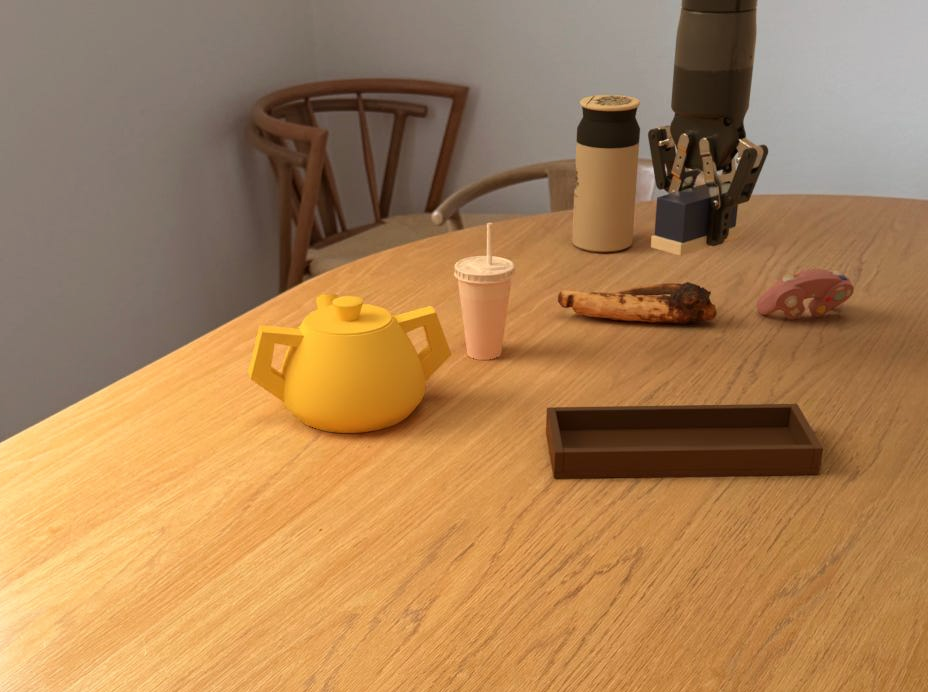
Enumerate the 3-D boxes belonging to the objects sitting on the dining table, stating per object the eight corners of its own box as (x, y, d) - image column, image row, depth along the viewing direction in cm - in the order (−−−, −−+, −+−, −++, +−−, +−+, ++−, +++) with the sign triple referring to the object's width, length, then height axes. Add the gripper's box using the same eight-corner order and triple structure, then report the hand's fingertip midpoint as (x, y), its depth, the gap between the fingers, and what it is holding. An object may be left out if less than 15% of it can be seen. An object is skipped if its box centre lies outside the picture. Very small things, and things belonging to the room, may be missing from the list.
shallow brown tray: (793, 428, 120) (797, 403, 118) (819, 474, 112) (823, 448, 110) (545, 432, 120) (546, 407, 118) (553, 478, 112) (554, 452, 110)
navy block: (713, 227, 134) (718, 179, 132) (743, 235, 132) (748, 186, 129) (650, 247, 129) (653, 197, 126) (680, 256, 126) (684, 205, 124)
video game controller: (764, 335, 144) (784, 290, 138) (751, 306, 146) (770, 260, 140) (842, 327, 146) (866, 282, 140) (828, 298, 148) (851, 253, 142)
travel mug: (639, 239, 169) (649, 96, 159) (621, 256, 163) (631, 109, 153) (583, 233, 172) (590, 92, 162) (563, 249, 166) (569, 104, 156)
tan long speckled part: (715, 309, 148) (562, 298, 150) (720, 269, 145) (565, 258, 148) (714, 335, 140) (554, 322, 143) (720, 293, 138) (556, 281, 140)
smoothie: (496, 368, 133) (497, 235, 125) (443, 358, 135) (441, 226, 127) (523, 348, 137) (527, 218, 129) (472, 338, 140) (472, 210, 132)
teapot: (418, 355, 136) (415, 253, 130) (472, 422, 121) (472, 311, 115) (234, 379, 131) (222, 275, 125) (268, 452, 117) (256, 338, 110)
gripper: (799, 63, 118) (775, 247, 128) (683, 46, 127) (669, 218, 137) (748, 74, 114) (728, 262, 124) (632, 56, 123) (622, 232, 133)
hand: (697, 238), depth 130 cm, fingers closed on navy block, 4 cm apart
